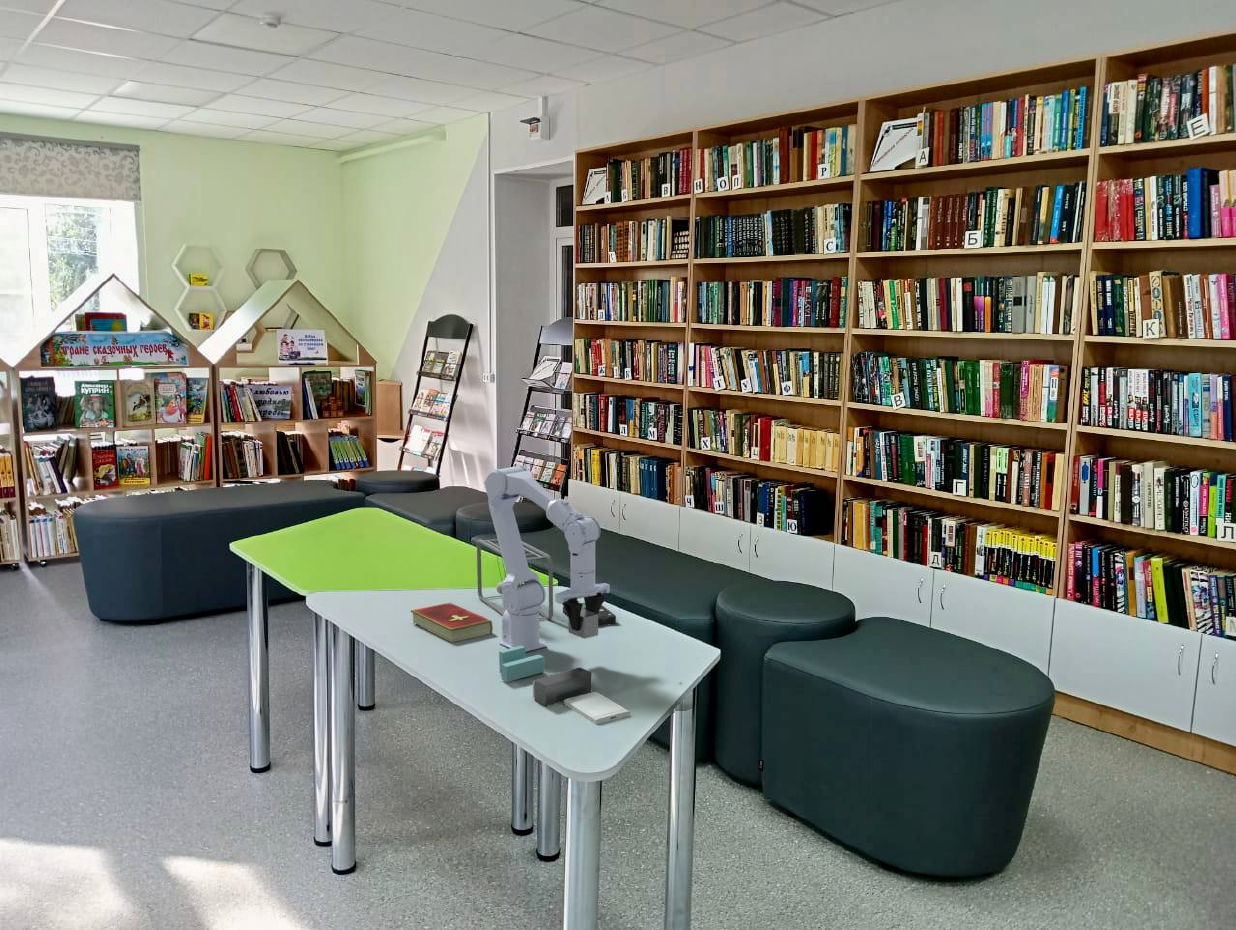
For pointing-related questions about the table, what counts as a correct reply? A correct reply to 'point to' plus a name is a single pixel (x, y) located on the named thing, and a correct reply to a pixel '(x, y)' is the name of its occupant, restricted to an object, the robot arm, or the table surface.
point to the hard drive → (596, 707)
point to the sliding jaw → (519, 664)
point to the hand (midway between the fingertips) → (583, 627)
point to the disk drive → (601, 616)
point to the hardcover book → (452, 622)
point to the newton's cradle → (499, 588)
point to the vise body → (562, 686)
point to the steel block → (586, 625)
